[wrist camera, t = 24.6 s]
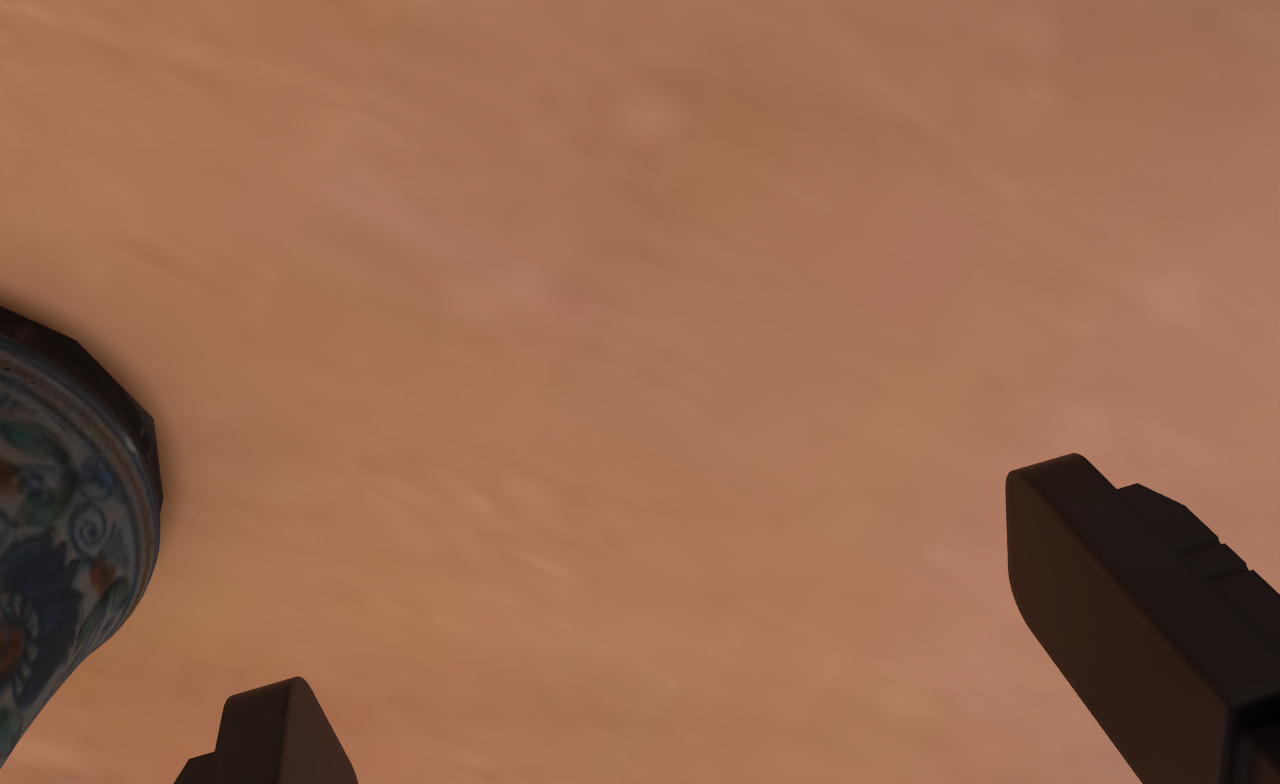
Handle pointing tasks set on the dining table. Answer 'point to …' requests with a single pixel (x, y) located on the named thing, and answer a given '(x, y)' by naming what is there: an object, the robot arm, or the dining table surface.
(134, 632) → the dining table surface
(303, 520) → the dining table surface
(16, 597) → the beer stein
